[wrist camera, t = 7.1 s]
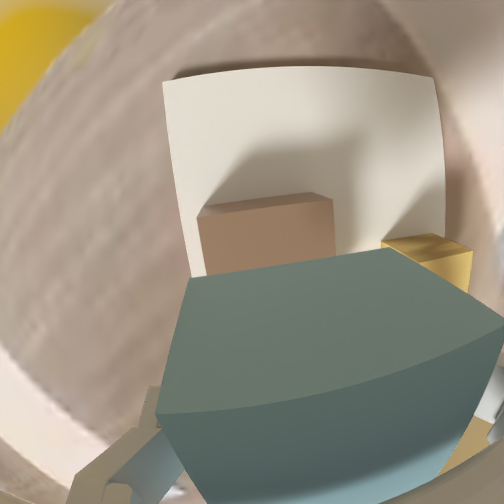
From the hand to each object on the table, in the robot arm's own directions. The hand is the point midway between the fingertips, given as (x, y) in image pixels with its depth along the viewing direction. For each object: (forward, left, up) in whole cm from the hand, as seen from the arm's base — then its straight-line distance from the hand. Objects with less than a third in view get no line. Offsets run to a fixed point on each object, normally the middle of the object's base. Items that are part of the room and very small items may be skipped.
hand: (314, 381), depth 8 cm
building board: (-5, -3, -14) cm, 15 cm away
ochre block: (-11, +3, -13) cm, 17 cm away
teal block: (0, 0, -2) cm, 2 cm away
